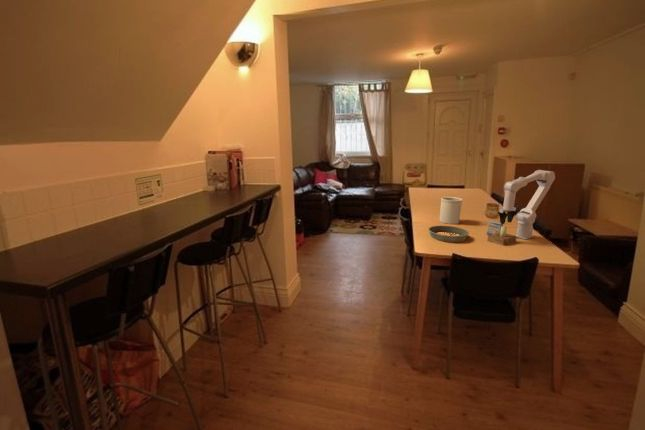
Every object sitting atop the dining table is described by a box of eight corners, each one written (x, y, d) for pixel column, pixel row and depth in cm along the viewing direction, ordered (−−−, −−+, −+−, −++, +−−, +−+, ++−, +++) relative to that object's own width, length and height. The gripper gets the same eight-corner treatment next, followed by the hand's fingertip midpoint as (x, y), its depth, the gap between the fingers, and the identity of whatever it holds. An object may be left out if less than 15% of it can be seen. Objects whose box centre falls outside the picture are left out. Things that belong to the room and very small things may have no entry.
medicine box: (486, 234, 229) (488, 221, 227) (488, 233, 232) (490, 220, 230) (499, 237, 223) (500, 224, 221) (501, 235, 226) (503, 222, 224)
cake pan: (449, 230, 238) (450, 223, 237) (477, 240, 216) (477, 233, 215) (419, 233, 230) (420, 227, 228) (444, 245, 207) (445, 237, 206)
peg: (500, 240, 217) (502, 226, 215) (505, 241, 215) (507, 227, 212) (498, 241, 215) (500, 227, 213) (503, 242, 213) (505, 228, 211)
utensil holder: (456, 219, 266) (459, 196, 261) (462, 224, 251) (465, 200, 247) (437, 218, 267) (439, 196, 263) (441, 224, 253) (443, 200, 248)
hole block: (500, 237, 223) (501, 232, 222) (515, 241, 215) (516, 236, 214) (487, 240, 215) (488, 235, 215) (502, 245, 207) (503, 239, 206)
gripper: (508, 203, 207) (505, 225, 210) (522, 201, 215) (518, 223, 218) (497, 201, 213) (494, 223, 216) (510, 199, 220) (507, 220, 224)
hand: (505, 222), depth 217 cm, fingers open, 7 cm apart
